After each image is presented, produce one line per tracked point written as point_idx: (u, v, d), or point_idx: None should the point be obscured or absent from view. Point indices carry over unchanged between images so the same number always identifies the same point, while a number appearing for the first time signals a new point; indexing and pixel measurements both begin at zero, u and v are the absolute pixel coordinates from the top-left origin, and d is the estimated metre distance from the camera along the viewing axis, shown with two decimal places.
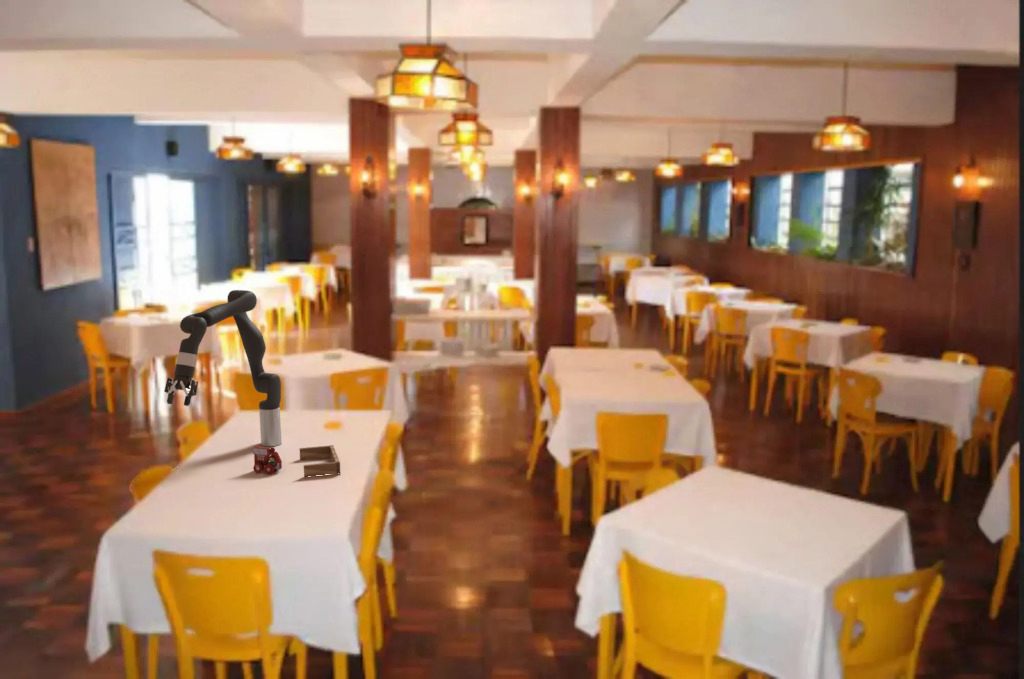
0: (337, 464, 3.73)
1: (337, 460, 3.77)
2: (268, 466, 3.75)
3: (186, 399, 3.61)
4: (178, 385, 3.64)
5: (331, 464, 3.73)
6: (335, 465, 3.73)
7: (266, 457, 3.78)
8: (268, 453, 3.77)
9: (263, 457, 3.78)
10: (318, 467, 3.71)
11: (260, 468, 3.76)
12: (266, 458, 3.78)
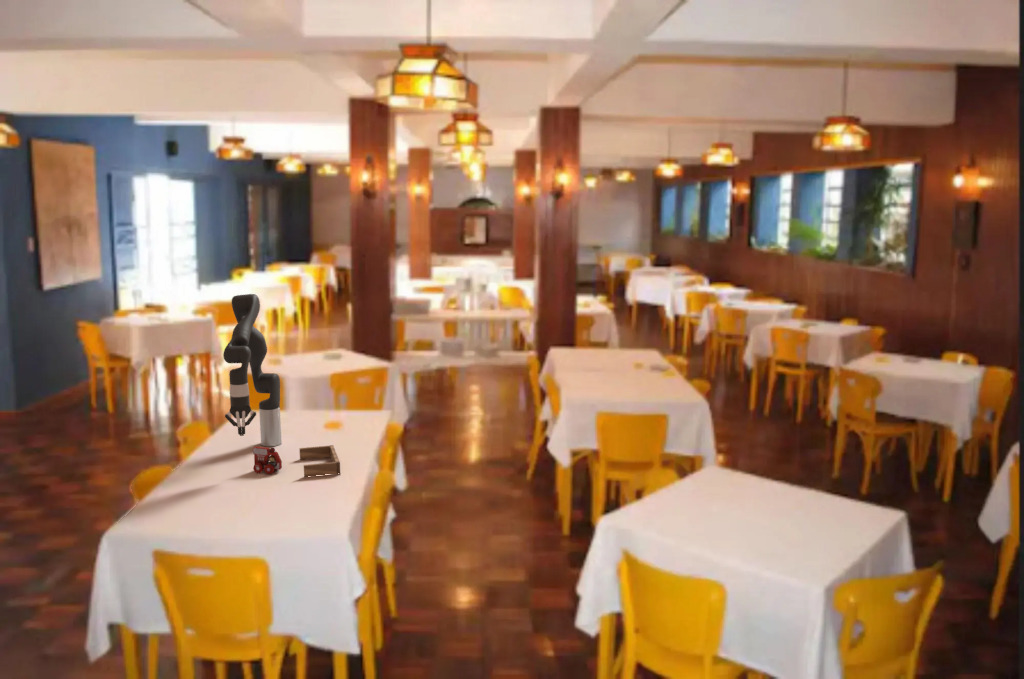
0: (337, 464, 3.73)
1: (337, 460, 3.77)
2: (268, 466, 3.75)
3: (243, 430, 3.73)
4: (240, 413, 3.71)
5: (331, 464, 3.73)
6: (335, 465, 3.73)
7: (266, 457, 3.78)
8: (268, 453, 3.77)
9: (263, 457, 3.78)
10: (318, 467, 3.71)
11: (260, 468, 3.76)
12: (266, 458, 3.78)
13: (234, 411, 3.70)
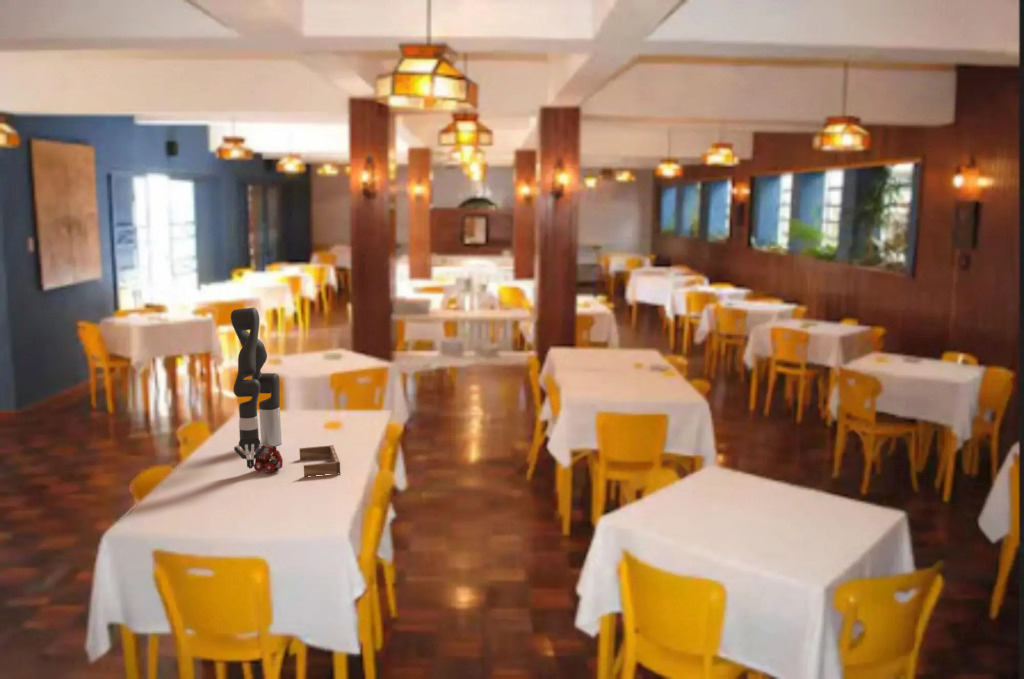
0: (337, 464, 3.73)
1: (337, 460, 3.77)
2: (269, 464, 3.75)
3: (252, 462, 3.76)
4: (250, 446, 3.74)
5: (331, 464, 3.73)
6: (335, 465, 3.73)
7: (267, 455, 3.78)
8: (269, 451, 3.78)
9: (264, 455, 3.78)
10: (318, 467, 3.71)
11: (261, 466, 3.76)
12: (267, 456, 3.78)
13: (243, 444, 3.73)
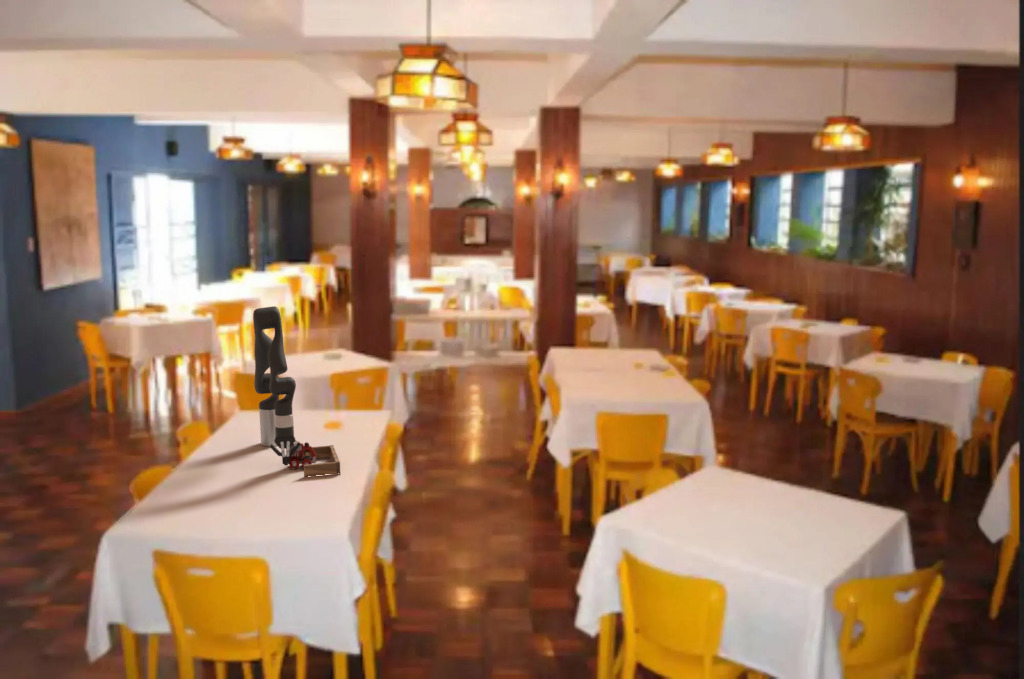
0: (337, 464, 3.73)
1: (337, 460, 3.77)
2: (306, 460, 3.82)
3: (287, 459, 3.80)
4: (285, 443, 3.78)
5: (331, 464, 3.73)
6: (335, 465, 3.73)
7: (301, 452, 3.84)
8: (303, 448, 3.84)
9: (297, 453, 3.83)
10: (318, 467, 3.71)
11: (297, 464, 3.81)
12: (301, 453, 3.84)
13: (279, 441, 3.77)
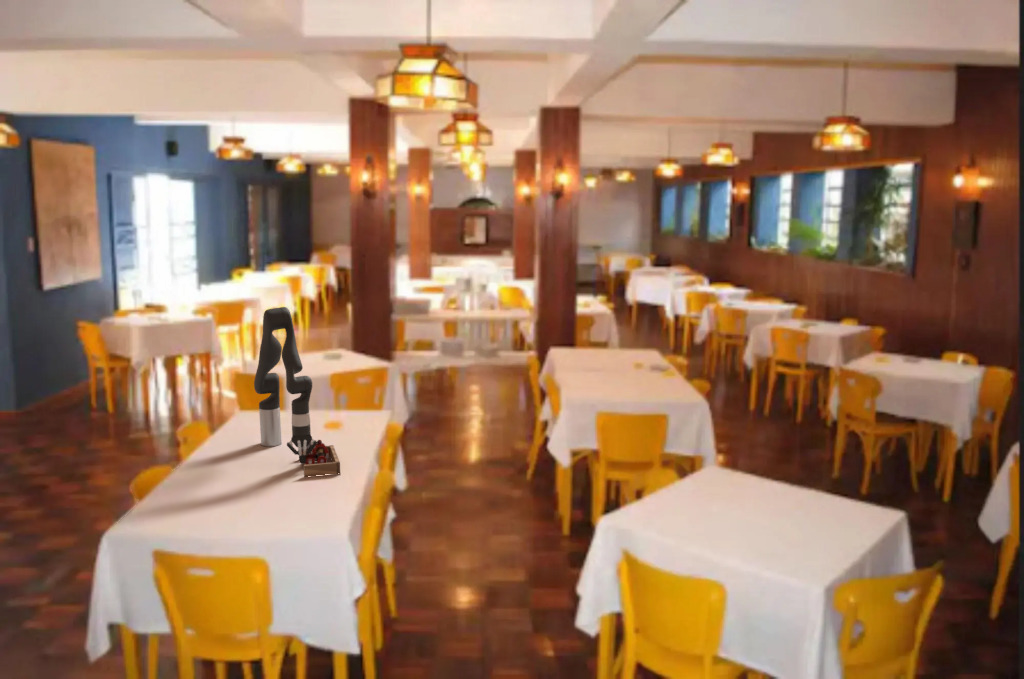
0: (337, 464, 3.73)
1: (337, 460, 3.77)
2: (322, 457, 3.86)
3: (304, 458, 3.82)
4: (302, 442, 3.80)
5: (331, 464, 3.73)
6: (335, 465, 3.73)
7: (314, 450, 3.87)
8: (316, 446, 3.87)
9: (311, 451, 3.86)
10: (318, 467, 3.71)
11: (313, 461, 3.85)
12: (314, 451, 3.87)
13: (296, 440, 3.79)
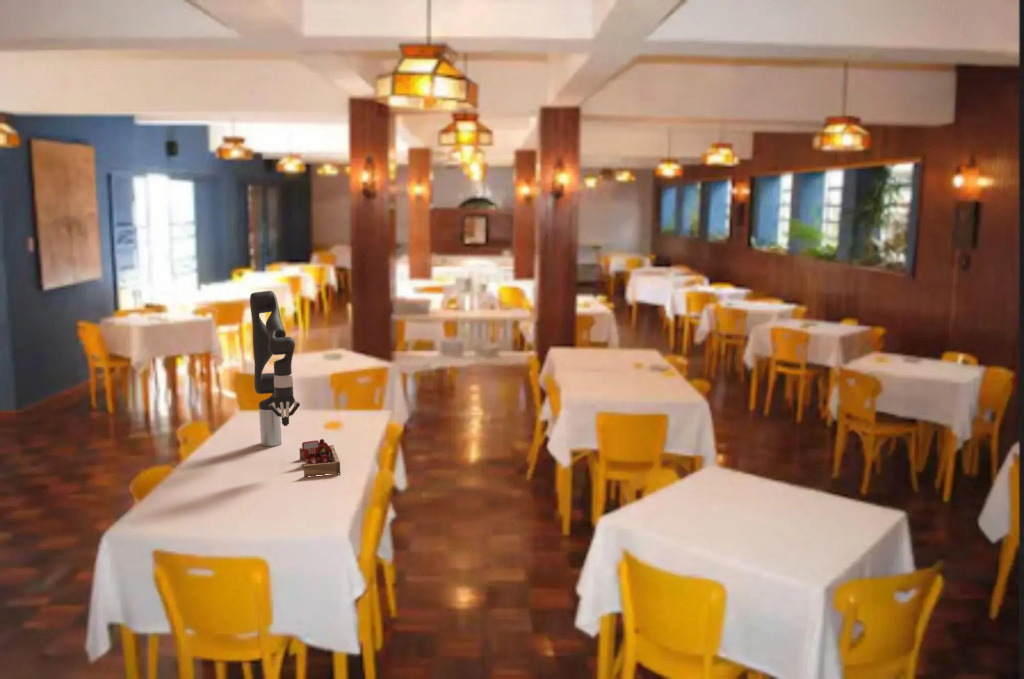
0: (337, 464, 3.73)
1: (337, 460, 3.77)
2: (325, 456, 3.87)
3: (287, 420, 3.77)
4: (284, 403, 3.76)
5: (331, 464, 3.73)
6: (335, 465, 3.73)
7: (317, 449, 3.88)
8: (319, 445, 3.88)
9: (314, 450, 3.87)
10: (318, 467, 3.71)
11: (316, 460, 3.86)
12: (317, 450, 3.88)
13: (278, 402, 3.75)
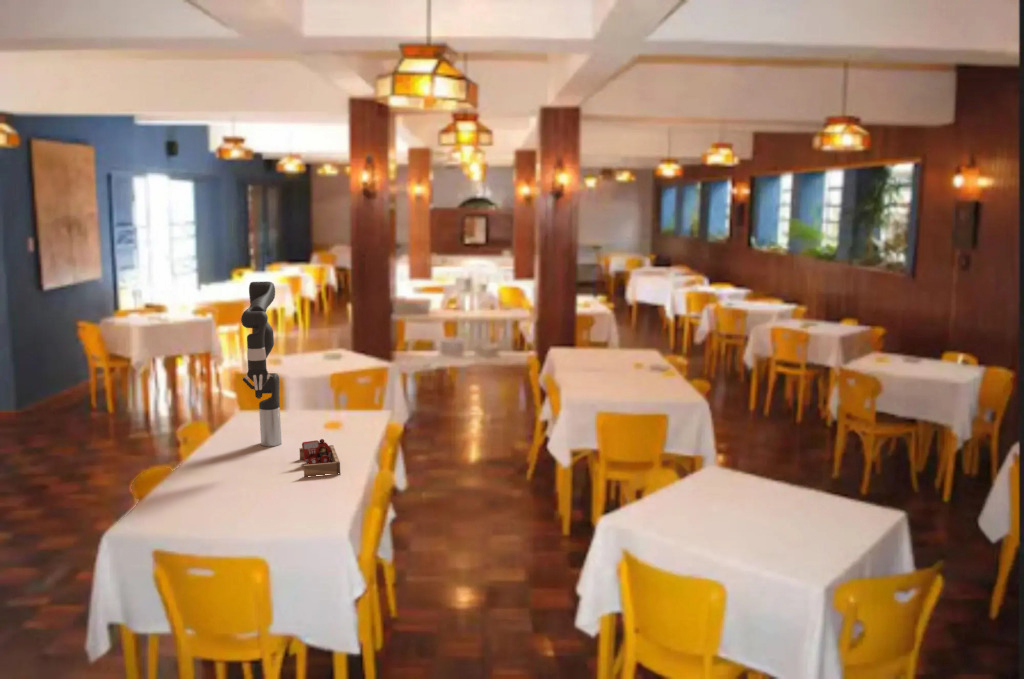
0: (337, 464, 3.73)
1: (337, 460, 3.77)
2: (325, 456, 3.87)
3: (260, 393, 3.84)
4: (258, 376, 3.83)
5: (331, 464, 3.73)
6: (335, 465, 3.73)
7: (317, 449, 3.88)
8: (319, 445, 3.88)
9: (314, 450, 3.87)
10: (318, 467, 3.71)
11: (316, 460, 3.86)
12: (317, 450, 3.88)
13: (251, 374, 3.82)
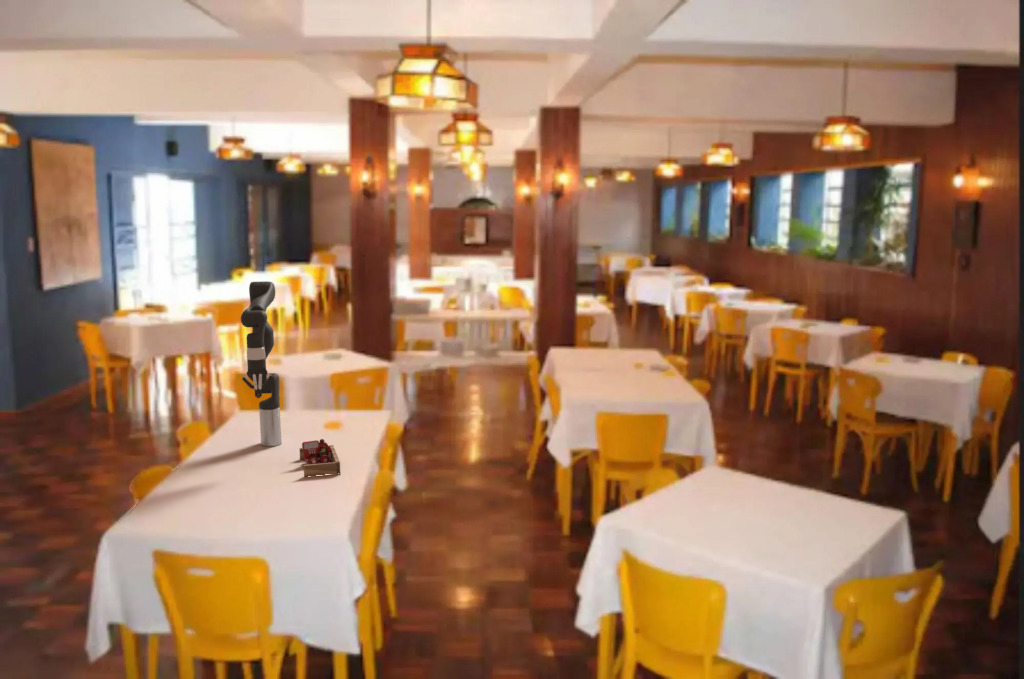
0: (337, 464, 3.73)
1: (337, 460, 3.77)
2: (325, 456, 3.87)
3: (260, 392, 3.84)
4: (257, 376, 3.83)
5: (331, 464, 3.73)
6: (335, 465, 3.73)
7: (317, 449, 3.88)
8: (319, 445, 3.88)
9: (314, 450, 3.87)
10: (318, 467, 3.71)
11: (316, 460, 3.86)
12: (317, 450, 3.88)
13: (251, 374, 3.82)
